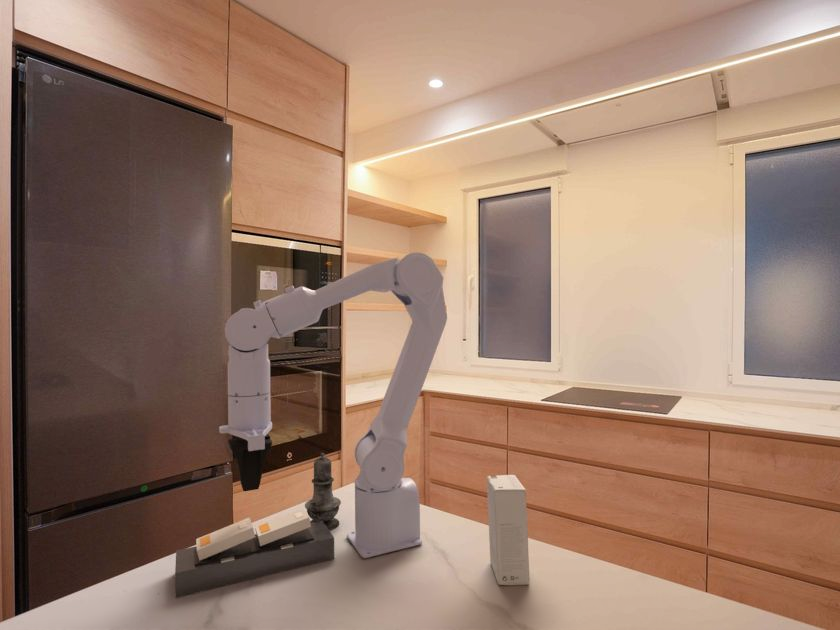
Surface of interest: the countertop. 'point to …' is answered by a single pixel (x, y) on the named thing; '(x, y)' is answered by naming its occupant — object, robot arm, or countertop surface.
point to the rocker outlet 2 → (282, 526)
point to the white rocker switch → (224, 538)
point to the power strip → (252, 560)
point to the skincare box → (508, 529)
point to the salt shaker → (323, 495)
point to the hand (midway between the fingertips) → (250, 488)
